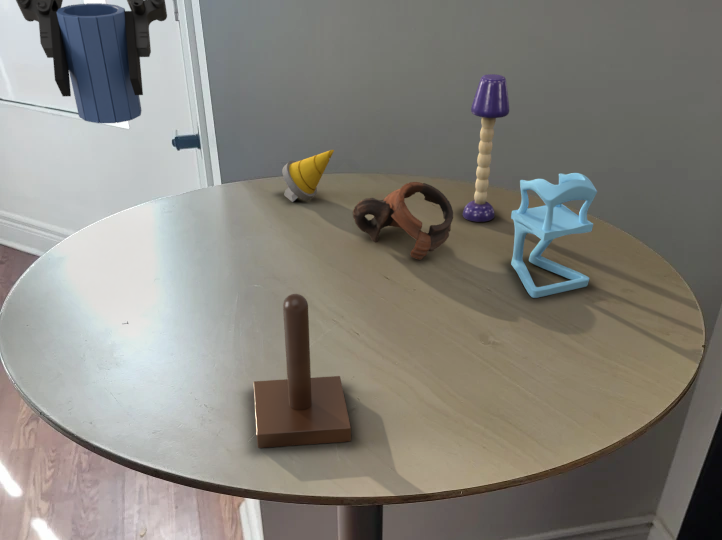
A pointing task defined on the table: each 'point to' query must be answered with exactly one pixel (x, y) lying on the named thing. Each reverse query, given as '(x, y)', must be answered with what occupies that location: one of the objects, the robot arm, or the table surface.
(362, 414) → the table surface
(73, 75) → the blue fluted tube
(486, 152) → the toy lamp
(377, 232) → the brown looped strap
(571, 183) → the chair
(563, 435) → the table surface
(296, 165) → the drill bit
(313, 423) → the stand
